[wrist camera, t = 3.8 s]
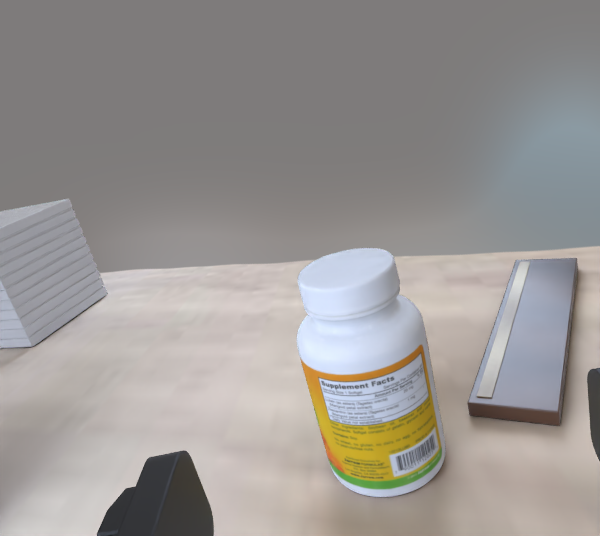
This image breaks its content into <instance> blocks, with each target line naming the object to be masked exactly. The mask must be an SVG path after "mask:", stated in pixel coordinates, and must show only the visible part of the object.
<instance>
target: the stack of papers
mask: <svg viewBox="0 0 600 536" xmlns="http://www.w3.org/2000/svg"><path fill="white" fill-rule="evenodd" d="M71 207H72V205H71V202H70V199H65V200H60V201H54V202H48V203H43V204H38V205H33V206H27V207H22V208H17V209H11V210H6V211H1V212H0V348H15V347H33V346H34V345H36V344H37V343H39V342H40V341H41V340H43V339H44V338H46V337H47V336H48V335H50V334H51V333H53V332H54V331H55V330H57V329H58V328H60V327H61V326H63V325H64V324H65V323H67V322H68V321H70V320H71V319H72V318H74V317H75V316H77V315H78V314H79V313H81V312H82V311H84V310H85V309H87V308H88V307H89V306H91V305H92V304H94V303H95V302H96V301H98V300H99V299H101V298H102V297H104V296H105V295H106V294H108V293H107V290H106V288H105V287H103V286H102V285H104V283H103V281H102V278H100V279H99V277H100V273H99V271H98V270H96V268H97V266H96V264H95V262H93V261H92V260H94V258H93V256H92V254H91V253H89V252H90V249H89V246H88V245H86V244H85V243H86V242H87V241H86V239H85V236H82V234H83V232H82V229H81V227H78V226H79V225H80V224H79V222H78V219H77V218H75V216H76V214H75V212H74V209H71Z"/></svg>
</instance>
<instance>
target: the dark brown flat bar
mask: <svg viewBox="0 0 600 536" xmlns="http://www.w3.org/2000/svg"><path fill="white" fill-rule="evenodd" d="M577 270H578V264H577V258H565V259H533V260H516V262H515V265H514V268H513V271H512V274H511V276H510V279H509V282H508V285H507V288H506V291H505V294H504V297H503V300H502V303H501V306H500V309H499V312H498V315H497V318H496V321H495V324H494V327H493V330H492V332H491V335H490V338H489V341H488V344H487V347H486V350H485V353H484V356H483V359H482V362H481V365H480V368H479V371H478V374H477V377H476V380H475V383H474V385H473V388H472V391H471V394H470V397H469V400H468V409H469V415H471V416H479V417H488V418H496V419H505V420H513V421H522V422H531V423H539V424H548V425H557V426H560V423H561V414H562V405H563V396H564V387H565V378H566V369H567V360H568V351H569V342H570V333H571V324H572V315H573V306H574V297H575V288H576V279H577Z"/></svg>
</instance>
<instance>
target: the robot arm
mask: <svg viewBox="0 0 600 536" xmlns="http://www.w3.org/2000/svg"><path fill="white" fill-rule="evenodd" d="M587 383H588V398H589V413H590V429H591V438H592V443H593V446H594V449H595V452H596V454H597V457H598V459H599V461H600V368H596V369H591V370H590V371H589V372H588V377H587ZM213 535H214V525H213V516H212V511H211V507H210V505H209V502H208V499H207V497H206V494H205V492H204V489H203V487H202V484H201V482H200V479H199V477H198V474H197V471H196V469H195V466H194V464H193V461H192V459H191V457H190V455H189V453H188V452H187V451H179V452H174V453H169V454H164V455H159V456H154V457H150V458H148V459H147V461H146V462H145V465H144V467H143V470H142V472H141V475H140V477H139V480H138V482H137V485H136V487H131V488H126V489H125V490H124V491H123V493H122V494H121V495H120V496H119V497H118V499H117V500H116V501H115V502H114V503H113V504H112V506H111V507H110V508H109V509H108V510H107V512H106V515H105V517H104V519H103V521H102V524H101V526H100V528H99V531H98V533H97V536H213Z"/></svg>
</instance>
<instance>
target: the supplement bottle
mask: <svg viewBox="0 0 600 536" xmlns="http://www.w3.org/2000/svg"><path fill="white" fill-rule="evenodd" d="M298 285H299V289H300V293H301V297H302V301H303V304H304V308H305V311H306V312H307V313H308V315H307V317H306V318H305V319H304V320H303V322H302V323H301V325H300V327H299V330H298V333H297V346H298V351H299V355H300V359H301V363H302V366H303V370H304V373H305V377H306V381H307V384H308V388H309V391H310V395H311V399H312V402H313V406H314V410H315V413H316V417H317V420H318V424H319V427H320V431H321V435H322V438H323V442H324V445H325V449H326V452H327V456H328V459H329V462H330V465H331V468H332V470H333V473H334V474H335V476H336V477H337V479H338V480H339V481H340V482H341V483H342V484H343V485H344V486H346V487H347V488H349V489H350V490H352V491H354V492H356V493H359V494H362V495H366V496H372V497H392V496H398V495H402V494H405V493H408V492H411V491H414V490H416V489H418V488H420V487H422V486H423V485H425V484H426V483H428V482H429V481H430V480H431V479H432V478H433V477H434V476H435V475H436V474H437V473H438V471H439V470H440V468H441V466H442V464H443V461H444V458H445V451H446V446H445V438H444V432H443V426H442V421H441V415H440V410H439V404H438V399H437V393H436V388H435V382H434V376H433V371H432V365H431V360H430V354H429V348H428V342H427V337H426V331H425V327H424V323H423V319H422V315H421V313H420V311H419V310H418V308H417V307H416V306H415V304H414V303H413V302H411V301H410V300H409V299H407V298H405V297H404V296H401V295H399V291H400V287H399V285H400V280H399V277H398V273H397V268H396V264H395V259H394V257H393V256H392V254H390V253H389V252H388V251H385V250H382V249H375V248H357V249H350V250H345V251H341V252H337V253H333V254H330V255H327V256H324V257H322V258H320V259H318V260H316V261H314V262H312V263H310V264H309V265H307V266H306V267H305V268H304V269H303V270H302V271H301V272H300V274H299V276H298Z"/></svg>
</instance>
